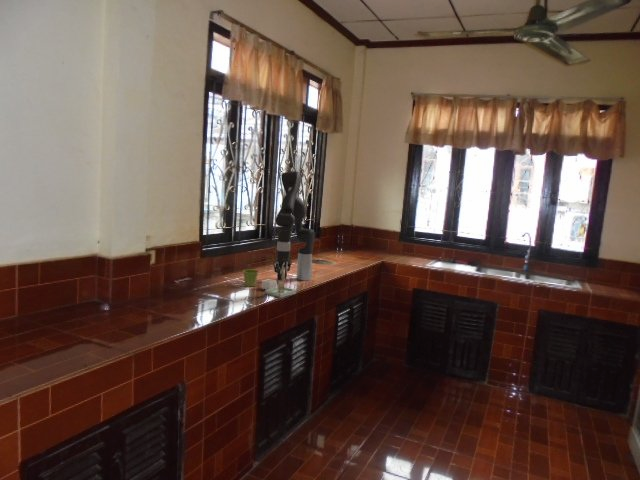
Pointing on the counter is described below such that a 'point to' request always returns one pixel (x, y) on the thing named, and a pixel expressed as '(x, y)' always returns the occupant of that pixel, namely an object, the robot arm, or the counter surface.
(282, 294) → the tray
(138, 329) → the counter surface
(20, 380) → the counter surface
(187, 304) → the counter surface
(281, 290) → the dowel
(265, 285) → the white open box
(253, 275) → the plant pot
